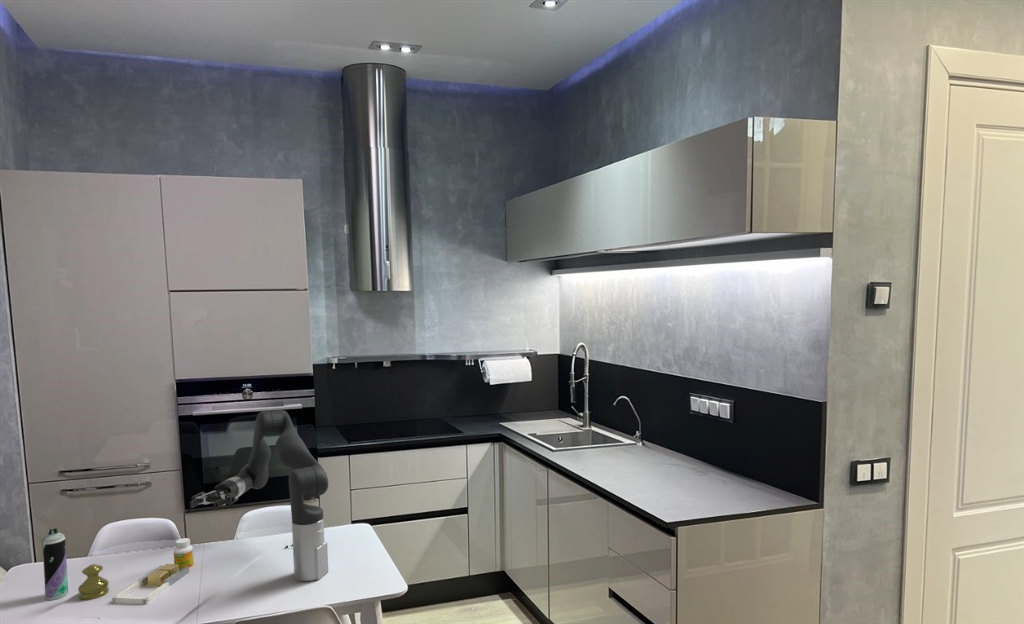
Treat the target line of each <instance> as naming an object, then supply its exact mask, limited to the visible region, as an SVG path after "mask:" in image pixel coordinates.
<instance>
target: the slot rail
mask: <svg viewBox="0 0 1024 624" xmlns="http://www.w3.org/2000/svg"><path fill="white" fill-rule="evenodd" d="M164 565H165V564H164ZM164 565H158V567H155V569H153V570H151V571H150V572H149V573H148V572H147V574H145V575H144V576H142V577H141V578H139V579H138V580H137V582H140V586H141V587H140V588H159V587H160V586H148V576H149V575H150V574H152V573H153V572H155V571H156V570H158V569H159V568H161V567H162V566H164ZM189 574H190V568H189V566H185V567H183V568H182V569H180V570H179V571H177V572H176V573H175V574H173V575H172V576H170V577H169V578H167V579H166V580H164V584H165V583H169V588H170V587H171V586H173V585H174V584H176V583H177V582H179V581H180V580H181V579H183V578H184V577H186V575H189Z"/></svg>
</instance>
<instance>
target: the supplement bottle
mask: <svg viewBox="0 0 1024 624" xmlns="http://www.w3.org/2000/svg"><path fill="white" fill-rule="evenodd" d="M175 546H176V547H175V548H174V550H173V564H179V570H180V569H182V568H183V567H185V566H189V569H190V568H192V567H193V566H194V547H193V545H191V539H190V538H188V537H184V538H180V539H177V540H176V541H175Z"/></svg>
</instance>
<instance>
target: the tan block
mask: <svg viewBox="0 0 1024 624" xmlns="http://www.w3.org/2000/svg"><path fill="white" fill-rule="evenodd" d="M167 578H169V571H167V570H156V571H155V572H153V573H152V574H150V575H149V576H148V586H162V585H163V584H164V580H166V579H167Z"/></svg>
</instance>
